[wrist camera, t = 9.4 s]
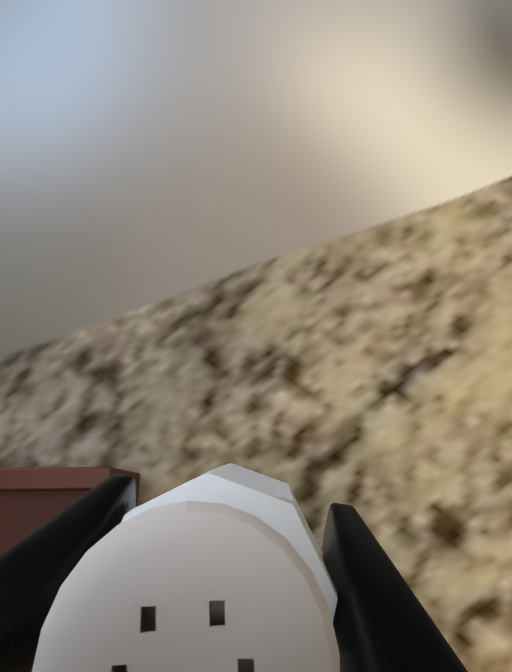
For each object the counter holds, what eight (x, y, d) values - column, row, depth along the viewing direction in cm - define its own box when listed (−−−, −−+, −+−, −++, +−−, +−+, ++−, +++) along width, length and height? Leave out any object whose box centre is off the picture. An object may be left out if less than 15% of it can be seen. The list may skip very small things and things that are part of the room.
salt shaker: (308, 458, 15) (428, 360, 5) (326, 642, 13) (604, 1163, 3) (153, 468, 15) (-70, 386, 5) (148, 655, 13) (-272, 1262, 3)
